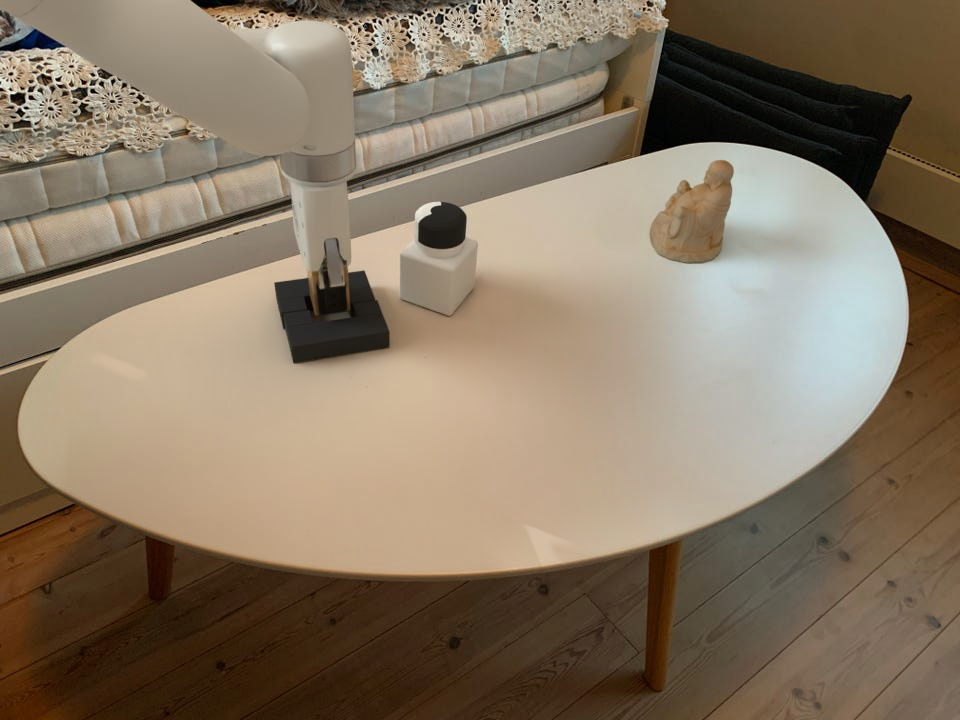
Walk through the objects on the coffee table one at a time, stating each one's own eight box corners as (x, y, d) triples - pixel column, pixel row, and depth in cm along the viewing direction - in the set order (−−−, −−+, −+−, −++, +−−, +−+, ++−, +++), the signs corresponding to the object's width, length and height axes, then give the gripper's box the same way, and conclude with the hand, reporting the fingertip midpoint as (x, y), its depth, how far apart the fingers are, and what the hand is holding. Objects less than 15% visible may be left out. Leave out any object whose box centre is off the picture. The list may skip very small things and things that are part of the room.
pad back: (283, 329, 91) (281, 312, 89) (276, 298, 95) (274, 282, 93) (375, 315, 94) (375, 299, 92) (365, 286, 98) (364, 270, 96)
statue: (774, 204, 99) (705, 173, 98) (713, 284, 109) (649, 257, 107) (761, 160, 109) (697, 131, 107) (705, 237, 118) (646, 212, 116)
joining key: (315, 316, 89) (311, 273, 84) (309, 294, 91) (305, 252, 87) (350, 310, 90) (348, 268, 86) (343, 290, 92) (340, 248, 88)
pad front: (293, 363, 87) (291, 347, 85) (285, 329, 91) (283, 313, 89) (389, 347, 90) (389, 331, 88) (377, 315, 94) (377, 299, 92)
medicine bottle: (475, 287, 99) (482, 205, 91) (450, 318, 95) (455, 234, 86) (425, 270, 101) (428, 189, 93) (398, 299, 96) (398, 216, 88)
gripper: (268, 121, 82) (285, 262, 95) (292, 202, 71) (308, 351, 83) (339, 115, 84) (346, 254, 97) (373, 193, 73) (377, 340, 85)
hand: (329, 298), depth 90 cm, fingers closed on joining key, 3 cm apart
